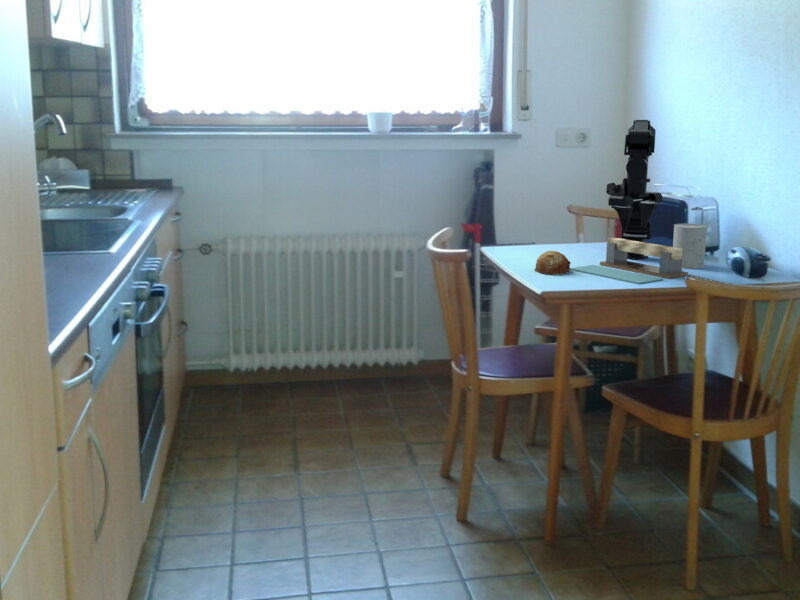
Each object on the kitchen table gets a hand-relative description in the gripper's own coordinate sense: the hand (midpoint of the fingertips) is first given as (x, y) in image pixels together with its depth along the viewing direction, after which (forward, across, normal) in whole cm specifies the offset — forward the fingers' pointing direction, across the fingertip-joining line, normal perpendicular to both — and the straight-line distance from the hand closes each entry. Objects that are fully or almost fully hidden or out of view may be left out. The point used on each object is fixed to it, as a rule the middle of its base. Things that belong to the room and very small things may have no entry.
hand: (633, 228), depth 258 cm
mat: (+12, +10, +2) cm, 16 cm away
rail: (+7, -2, +3) cm, 8 cm away
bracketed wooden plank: (+12, -2, +3) cm, 13 cm away
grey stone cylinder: (+12, -18, +7) cm, 23 cm away
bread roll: (+13, +20, -13) cm, 27 cm away
